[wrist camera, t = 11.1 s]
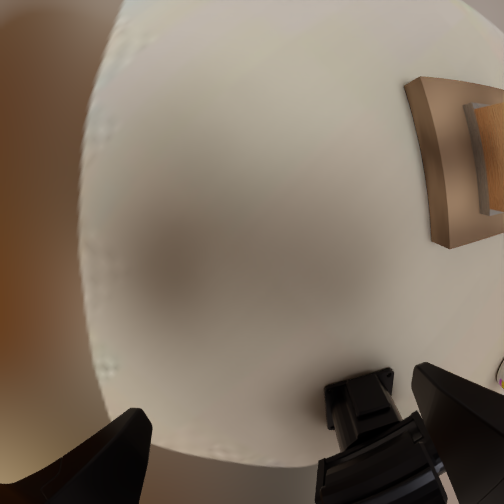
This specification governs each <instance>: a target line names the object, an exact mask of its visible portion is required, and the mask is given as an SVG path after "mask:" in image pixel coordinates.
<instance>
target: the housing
mask: <svg viewBox="0 0 504 504" xmlns="http://www.w3.org/2000/svg"><path fill="white" fill-rule="evenodd" d="M462 106H463V110H464V113H465V117H466V121H467V125H468V130H469V134H470V139H471V144H472V150H473V155H474V161H475V168H476V176H477V184H478V195H479V208H480V214H483V215H488V216H492V215H496V214H500V213H504V102H503V103H498V104H494V105H487V104H480V103H468V104H465V105H462Z"/></svg>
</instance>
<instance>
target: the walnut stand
mask: <svg viewBox="0 0 504 504" xmlns="http://www.w3.org/2000/svg"><path fill="white" fill-rule="evenodd" d="M404 88H405V91H406V94H407V98H408V101H409V104H410V108H411V111H412V115H413V119H414V123H415V127H416V131H417V135H418V140H419V144H420V149H421V154H422V160H423V165H424V171H425V178H426V185H427V192H428V200H429V210H430V221H431V237H432V242H434V243H437V244H439V245H441V246H444V247H446V248H448V249H452V248H456V247H459V246H462V245H466V244H469V243H472V242H476V241H479V240H482V239H485V238H488V237H491V236H494V235H498V234H501V233H504V213H500V214H496V215H492V216H488V215H483V214H480V208H479V195H478V184H477V176H476V168H475V161H474V155H473V150H472V144H471V139H470V134H469V130H468V125H467V121H466V117H465V113H464V110H463V106H462V105H465V104H468V103H480V104H487V105H494V104H498V103H503V102H504V90H502V89H498V88H494V87H490V86H485V85H480V84H475V83H469V82H463V81H457V80H450V79H442V78H433V77H421V76H420V77H418V78H416V79H415V80H413V81H411V82H410V83H408V84H406V85H405V86H404Z"/></svg>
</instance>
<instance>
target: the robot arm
mask: <svg viewBox="0 0 504 504" xmlns="http://www.w3.org/2000/svg"><path fill="white" fill-rule="evenodd" d="M387 374H388V375H387ZM393 378H394V372H393V370H392V369H391V368H388V369H385V370H382V371H379V372H375V373H372V374H369V375H365V376H362V377H358V378H355V379H351V380H347V381H343V382H339V383H335V384H331V385H328V386H326V387H325V388H324V395H325V405H326V417H327V427H328V429H329V430H335V431H336V435H337V439H338V443H339V447H340V452H341V453H338V454H336V455H334V456H331V457H329V458H324V459H321V460H319V463H318V470H317V483H316V493H315V503H316V504H447V499H448V498H447V495H446V492H445V490H444V487H443V485H442V483H441V480H440V478H439V475H441V474H443V473H445V472H447V475H448V477H449V479H450V482H451V484H452V487H453V489H454V491H455V494H456V496H457V499H458V501H459V504H504V395H502V394H499V393H497V392H495V391H492V390H490V389H487V388H485V387H483V386H480V385H478V384H476V383H473V382H471V381H469V380H467V379H464V378H462V377H460V376H457V375H455V374H453V373H451V372H448V371H446V370H444V369H442V368H439V367H437V366H435V365H433V364H430V363H428V362H423V363H421V364H418V365H416V366H415V367H414V370H413V377H412V383H411V387H412V391H413V394H414V396H415V399H416V402H417V405H418V407H419V410H420V413H421V416H422V418H421V416H420V414H419V413H418V411H417V410H416V411H415V412H413V413H412V414H411V415H410V416H409V417H407V418H405V419H404V420H403V419H402V417H401V415H400V413H399V411H398V409H397V407H396V405H395V403H394V401H393V399H392V397H391V395H392V387H393ZM329 390H330V391H329ZM151 436H152V424H151V422H150V420H149V419H148V417H147V416H146V414H145V413H144V411H143V410H142V409H141V408H130V409H128V410H127V411H126V412H124V413H123V414H122V415H120V416H119V417H118V418H116V419H115V420H113V421H112V422H111V423H109V424H108V425H107V426H105V427H104V428H103V429H101V430H100V431H98V432H97V433H96V434H94V435H93V436H91V437H90V438H89V439H87V440H86V441H84V442H83V443H81V444H80V445H79V446H77V447H76V448H74V449H73V450H71V451H70V452H68V453H67V454H65V455H64V456H63V457H61V458H59V459H58V460H56V461H55V462H53V463H52V464H50V465H48V466H47V467H45V468H43V469H42V470H40V471H38V472H36V473H34V474H32V475H30V476H28V477H26V478H24V479H22V480H19V481H17V482H15V483H11V484H0V504H139V500H140V495H141V491H142V487H143V482H144V478H145V474H146V469H147V465H148V459H149V452H150V444H151Z"/></svg>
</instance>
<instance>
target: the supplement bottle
mask: <svg viewBox="0 0 504 504" xmlns="http://www.w3.org/2000/svg"><path fill="white" fill-rule="evenodd" d="M497 381H498V383H499V384H500V386H501V387H502V388H503V389H504V360H503V362H502V364H501V366H500V368H499V371H498V374H497Z"/></svg>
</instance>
